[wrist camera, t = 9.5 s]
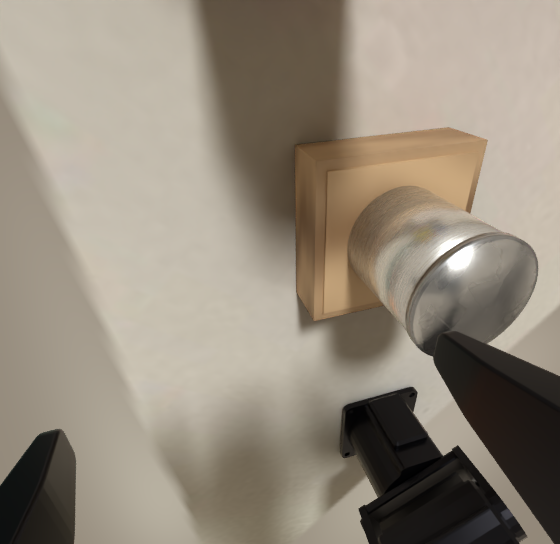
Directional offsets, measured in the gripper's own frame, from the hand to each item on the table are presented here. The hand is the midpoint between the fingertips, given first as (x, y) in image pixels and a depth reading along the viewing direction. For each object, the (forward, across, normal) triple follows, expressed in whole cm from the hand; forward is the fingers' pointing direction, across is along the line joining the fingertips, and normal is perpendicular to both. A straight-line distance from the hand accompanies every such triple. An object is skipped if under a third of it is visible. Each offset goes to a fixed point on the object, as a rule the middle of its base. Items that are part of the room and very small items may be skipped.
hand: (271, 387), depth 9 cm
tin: (+10, -10, +2) cm, 14 cm away
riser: (+13, -10, +2) cm, 16 cm away
